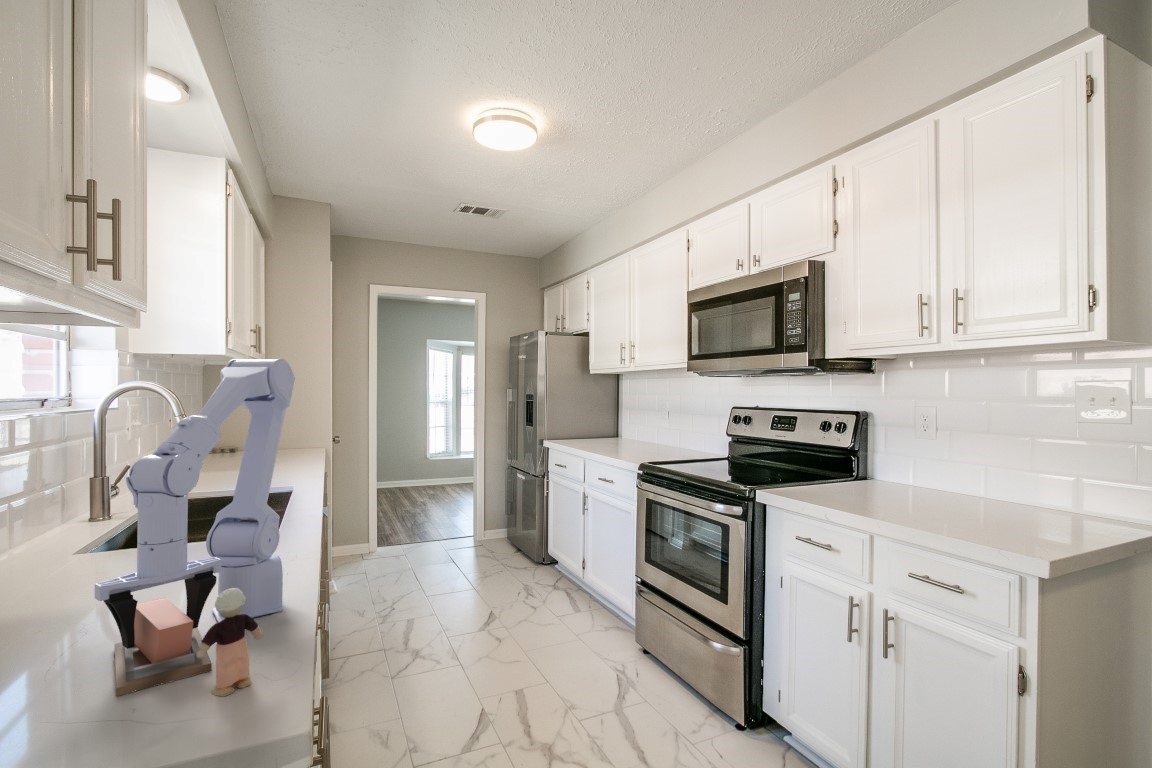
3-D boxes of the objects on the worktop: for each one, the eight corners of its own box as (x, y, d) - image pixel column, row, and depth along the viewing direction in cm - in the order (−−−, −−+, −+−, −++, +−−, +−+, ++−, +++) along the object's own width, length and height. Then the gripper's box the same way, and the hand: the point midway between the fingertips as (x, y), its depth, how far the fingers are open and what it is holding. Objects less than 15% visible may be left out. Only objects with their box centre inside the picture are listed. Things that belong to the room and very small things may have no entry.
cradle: (196, 631, 88) (196, 617, 88) (211, 670, 75) (211, 654, 75) (114, 650, 81) (114, 635, 81) (116, 696, 69) (116, 678, 69)
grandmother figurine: (245, 672, 75) (246, 578, 75) (266, 677, 74) (267, 581, 74) (188, 701, 68) (189, 597, 68) (209, 708, 66) (210, 601, 67)
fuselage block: (162, 630, 83) (165, 597, 83) (189, 656, 77) (193, 621, 77) (129, 639, 80) (132, 604, 80) (155, 666, 74) (159, 630, 74)
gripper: (207, 525, 87) (206, 612, 87) (87, 546, 75) (86, 647, 75) (228, 532, 83) (227, 623, 83) (105, 555, 71) (103, 662, 71)
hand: (161, 635), depth 78 cm, fingers open, 7 cm apart
